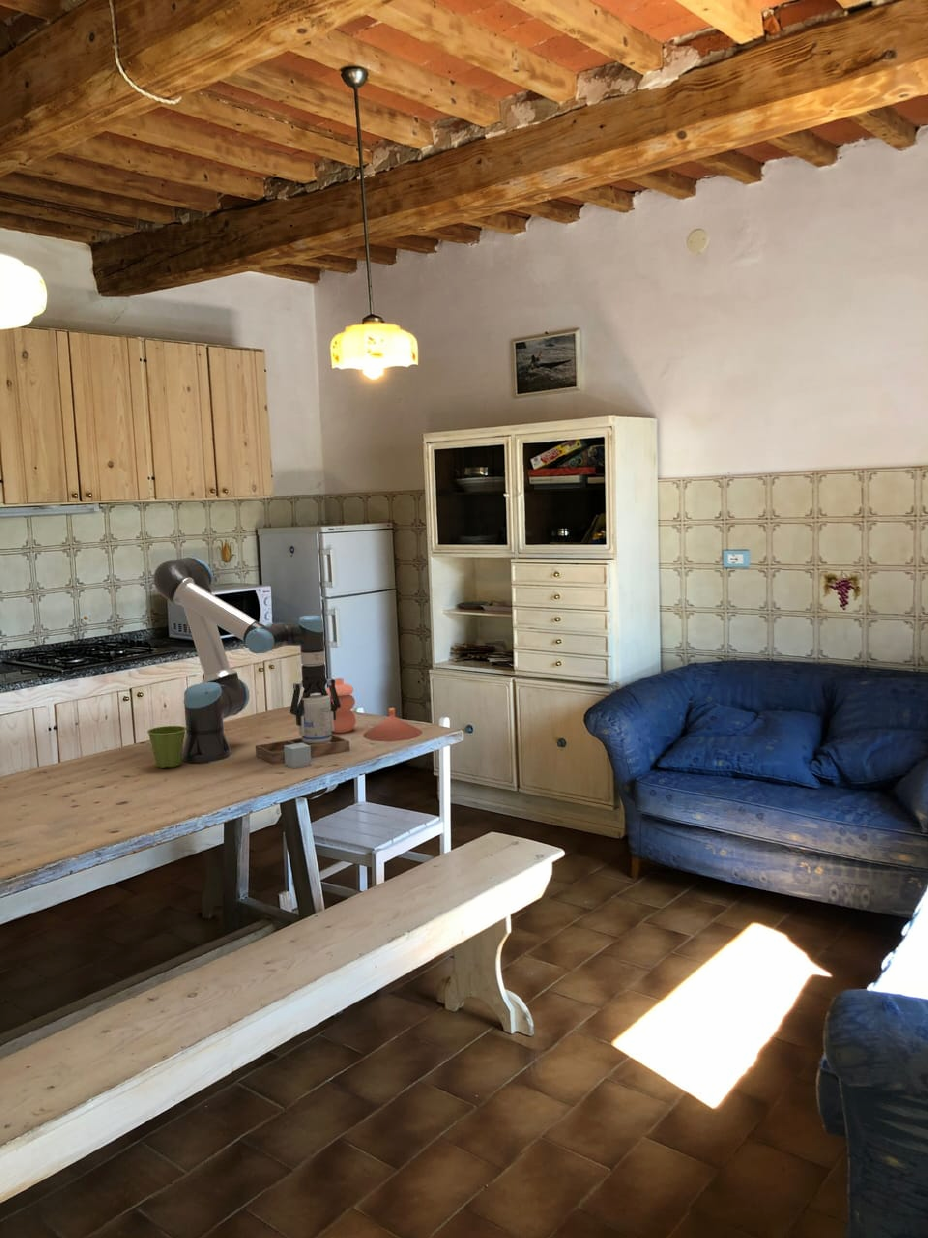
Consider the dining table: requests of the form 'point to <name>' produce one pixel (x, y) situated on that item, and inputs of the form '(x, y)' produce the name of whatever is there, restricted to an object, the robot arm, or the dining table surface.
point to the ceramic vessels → (382, 732)
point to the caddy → (276, 749)
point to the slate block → (297, 755)
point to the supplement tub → (317, 719)
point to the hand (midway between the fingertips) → (316, 732)
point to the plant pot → (167, 745)
